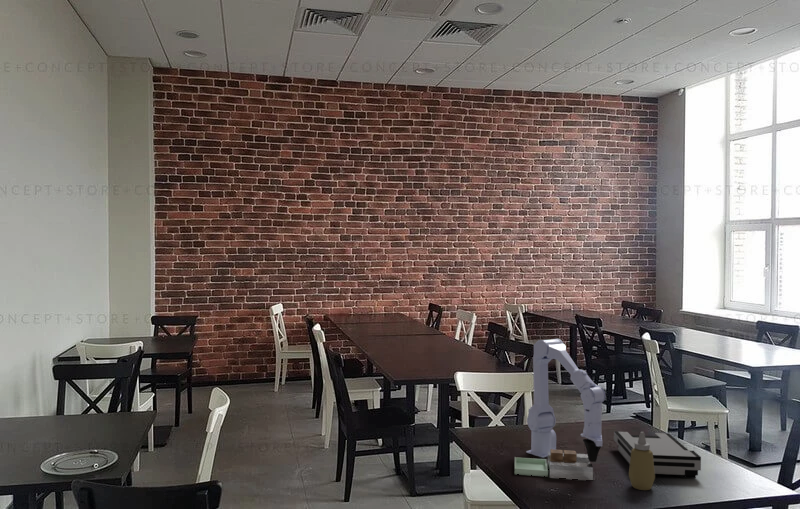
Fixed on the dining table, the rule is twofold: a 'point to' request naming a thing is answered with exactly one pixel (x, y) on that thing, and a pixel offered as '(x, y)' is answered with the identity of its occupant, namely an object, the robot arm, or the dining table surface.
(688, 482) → the dining table surface
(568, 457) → the chip
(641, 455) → the squeeze bottle
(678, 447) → the game console
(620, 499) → the dining table surface
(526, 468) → the tray
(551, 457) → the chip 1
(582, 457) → the slot block
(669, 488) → the dining table surface
